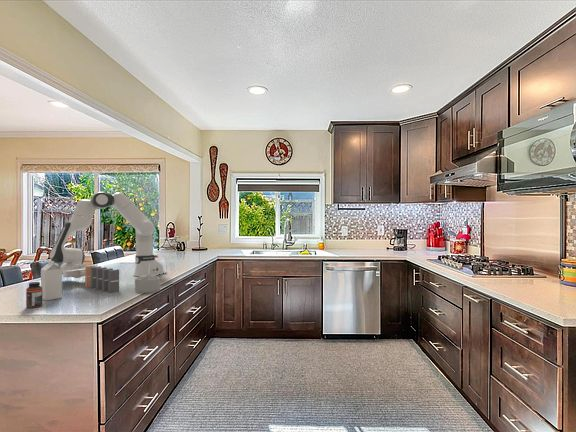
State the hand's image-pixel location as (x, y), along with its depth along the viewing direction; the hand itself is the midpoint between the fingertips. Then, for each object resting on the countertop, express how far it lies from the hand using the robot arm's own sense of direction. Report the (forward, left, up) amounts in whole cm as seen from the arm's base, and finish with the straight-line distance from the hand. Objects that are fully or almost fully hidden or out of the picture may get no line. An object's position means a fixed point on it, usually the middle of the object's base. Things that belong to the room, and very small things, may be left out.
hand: (88, 272), depth 200 cm
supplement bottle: (+37, +29, -8) cm, 48 cm away
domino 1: (0, +9, -8) cm, 12 cm away
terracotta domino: (0, +3, -8) cm, 8 cm away
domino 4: (0, +29, -8) cm, 30 cm away
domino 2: (0, +16, -8) cm, 18 cm away
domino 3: (0, +22, -8) cm, 24 cm away
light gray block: (-13, +42, -8) cm, 44 cm away
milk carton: (+26, +18, -8) cm, 33 cm away
